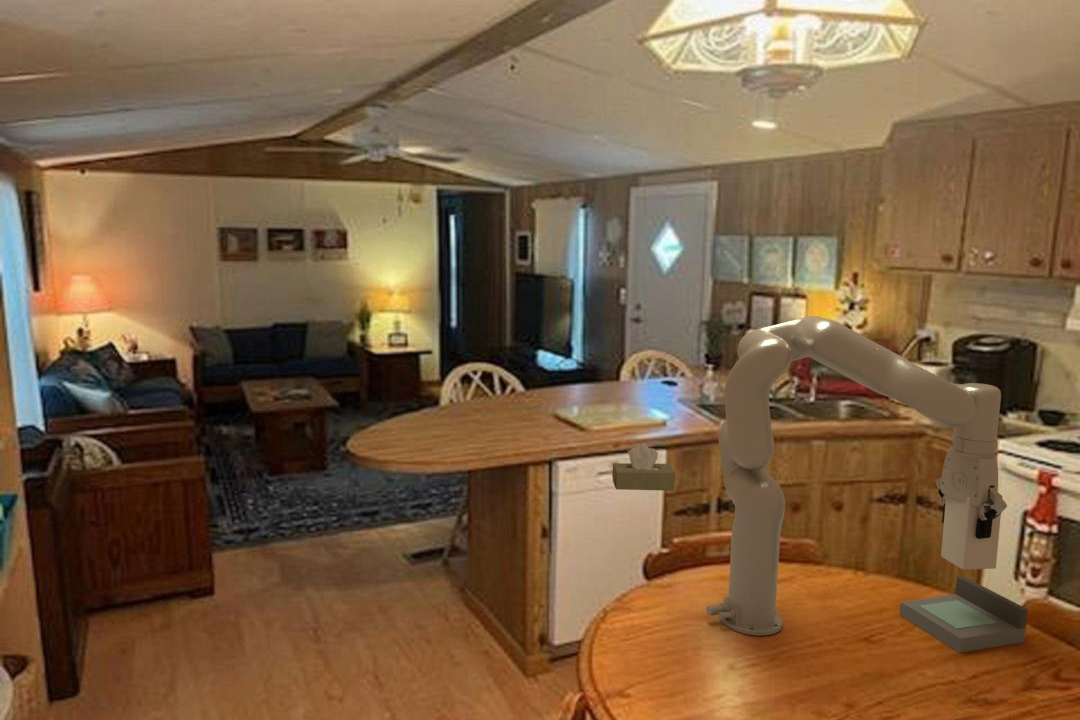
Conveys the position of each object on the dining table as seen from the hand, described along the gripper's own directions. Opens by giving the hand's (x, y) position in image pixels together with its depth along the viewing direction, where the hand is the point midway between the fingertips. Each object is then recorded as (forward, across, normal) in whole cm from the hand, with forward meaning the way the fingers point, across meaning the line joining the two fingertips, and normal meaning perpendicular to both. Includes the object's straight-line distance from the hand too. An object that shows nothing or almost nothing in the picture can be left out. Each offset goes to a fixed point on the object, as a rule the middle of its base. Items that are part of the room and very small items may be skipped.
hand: (965, 529), depth 155 cm
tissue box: (+22, -99, -26) cm, 105 cm away
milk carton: (+7, 0, +1) cm, 7 cm away
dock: (+21, 0, +1) cm, 21 cm away
